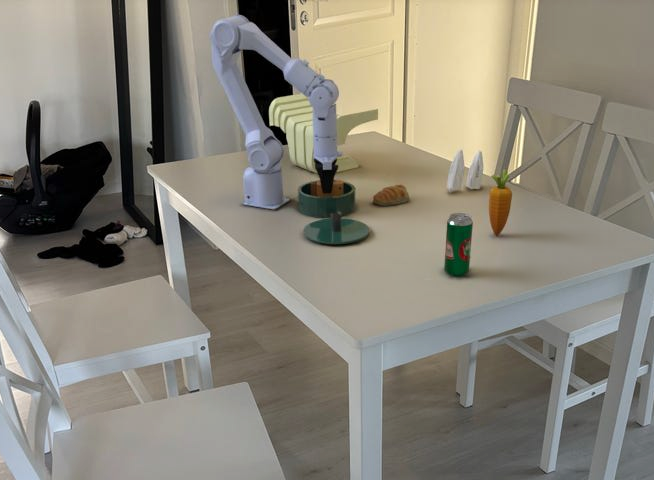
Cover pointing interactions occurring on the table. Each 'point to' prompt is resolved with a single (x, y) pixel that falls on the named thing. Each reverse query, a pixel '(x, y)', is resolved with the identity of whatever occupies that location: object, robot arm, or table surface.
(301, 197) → the pot
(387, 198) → the pastry
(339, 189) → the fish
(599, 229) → the table surface
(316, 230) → the pot lid
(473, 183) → the shaker set
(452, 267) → the soda can
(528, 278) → the table surface
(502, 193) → the carrot
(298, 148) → the slatted curved stool
